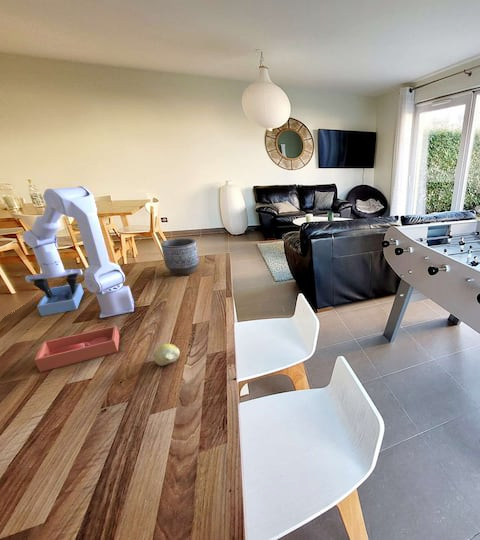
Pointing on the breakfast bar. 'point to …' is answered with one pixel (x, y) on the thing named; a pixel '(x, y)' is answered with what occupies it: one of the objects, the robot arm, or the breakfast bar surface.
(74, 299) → the blue bin
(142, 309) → the breakfast bar surface
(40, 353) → the red bin
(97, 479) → the breakfast bar surface
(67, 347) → the red spoon
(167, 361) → the fruit
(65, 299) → the navy spoon
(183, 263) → the planter
